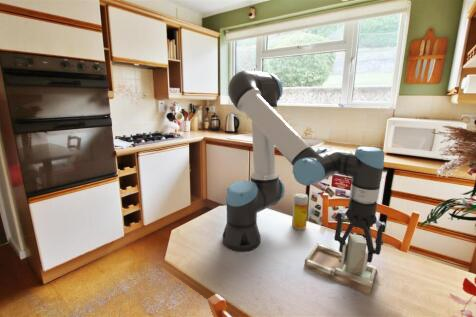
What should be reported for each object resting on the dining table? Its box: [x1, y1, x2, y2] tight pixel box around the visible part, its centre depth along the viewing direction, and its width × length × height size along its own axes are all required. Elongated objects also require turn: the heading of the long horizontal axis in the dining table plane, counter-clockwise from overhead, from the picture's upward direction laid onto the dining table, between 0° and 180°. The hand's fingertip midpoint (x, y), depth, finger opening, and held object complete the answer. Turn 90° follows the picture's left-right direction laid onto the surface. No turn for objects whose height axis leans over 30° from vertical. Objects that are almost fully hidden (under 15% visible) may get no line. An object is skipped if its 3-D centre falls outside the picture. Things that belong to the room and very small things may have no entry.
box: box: [345, 233, 367, 275], centre depth 79 cm, size 5×4×11 cm
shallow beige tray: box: [303, 243, 378, 296], centre depth 83 cm, size 20×13×2 cm, turn 54°
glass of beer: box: [291, 192, 309, 230], centre depth 107 cm, size 6×6×15 cm
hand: (353, 265), depth 80 cm, fingers closed on box, 6 cm apart
